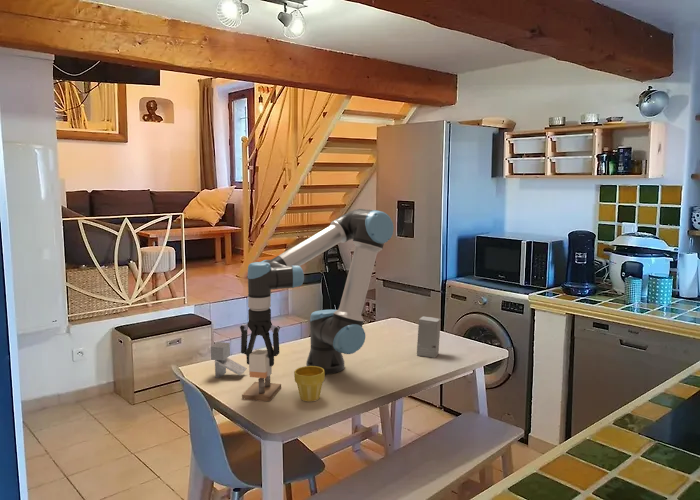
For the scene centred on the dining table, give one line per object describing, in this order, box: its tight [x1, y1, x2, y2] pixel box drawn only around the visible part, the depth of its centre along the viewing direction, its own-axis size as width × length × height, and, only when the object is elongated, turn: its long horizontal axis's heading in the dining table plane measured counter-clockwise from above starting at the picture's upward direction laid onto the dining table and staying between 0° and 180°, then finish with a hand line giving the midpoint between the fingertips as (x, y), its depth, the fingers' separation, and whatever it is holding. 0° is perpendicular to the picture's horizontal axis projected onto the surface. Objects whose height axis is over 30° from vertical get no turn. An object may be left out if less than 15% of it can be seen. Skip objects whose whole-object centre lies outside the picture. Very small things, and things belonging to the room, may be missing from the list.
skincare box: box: [416, 316, 442, 359], centre depth 235 cm, size 8×7×16 cm
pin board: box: [241, 375, 282, 402], centre depth 195 cm, size 10×12×6 cm
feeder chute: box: [210, 341, 247, 379], centre depth 211 cm, size 12×6×12 cm, turn 78°
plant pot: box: [293, 366, 326, 403], centre depth 191 cm, size 10×10×10 cm
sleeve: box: [249, 348, 269, 379], centre depth 191 cm, size 6×6×8 cm
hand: (260, 374), depth 191 cm, fingers closed on sleeve, 6 cm apart
